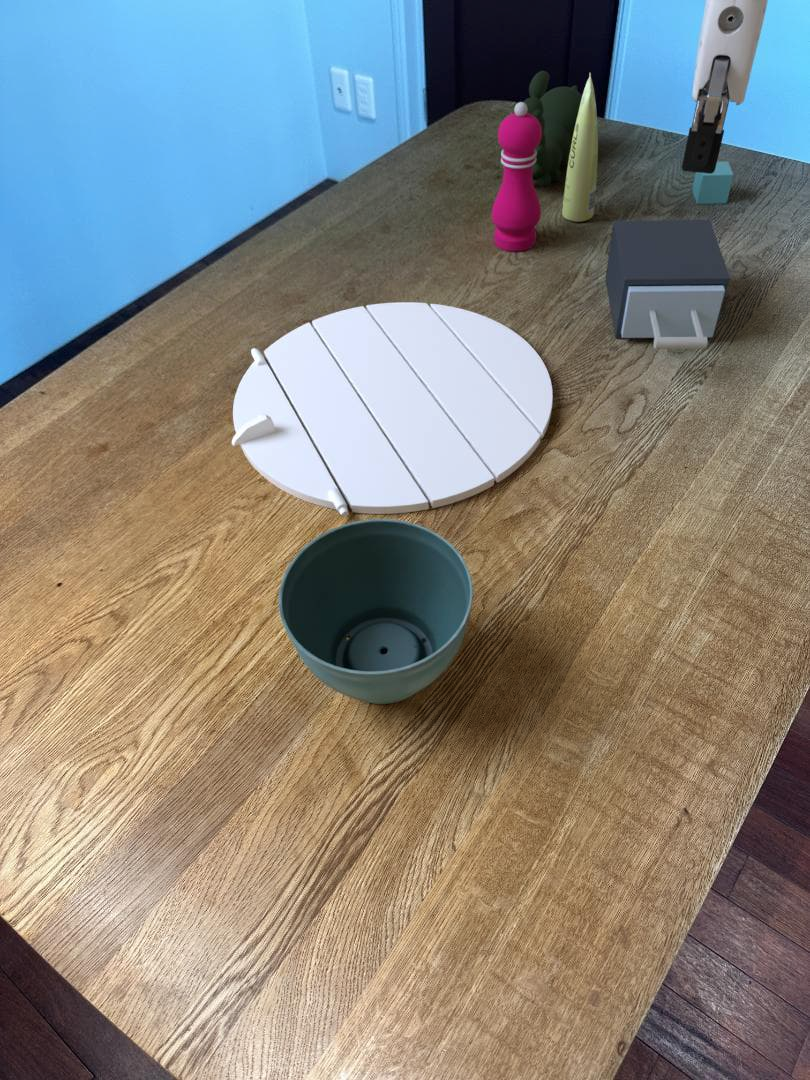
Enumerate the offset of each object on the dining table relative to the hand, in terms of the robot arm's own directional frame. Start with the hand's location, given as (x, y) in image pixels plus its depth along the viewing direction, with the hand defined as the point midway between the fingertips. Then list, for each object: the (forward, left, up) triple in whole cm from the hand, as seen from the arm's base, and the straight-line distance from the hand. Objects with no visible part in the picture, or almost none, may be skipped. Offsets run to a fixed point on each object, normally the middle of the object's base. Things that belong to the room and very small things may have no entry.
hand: (702, 150), depth 84 cm
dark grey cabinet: (-1, -11, -26) cm, 28 cm away
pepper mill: (+18, -29, -26) cm, 43 cm away
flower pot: (+31, +47, -26) cm, 62 cm away
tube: (+8, -37, -26) cm, 46 cm away
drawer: (-1, -5, -25) cm, 25 cm away
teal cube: (-13, -42, -26) cm, 51 cm away
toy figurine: (+12, -53, -26) cm, 60 cm away
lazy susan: (+34, +9, -26) cm, 44 cm away
